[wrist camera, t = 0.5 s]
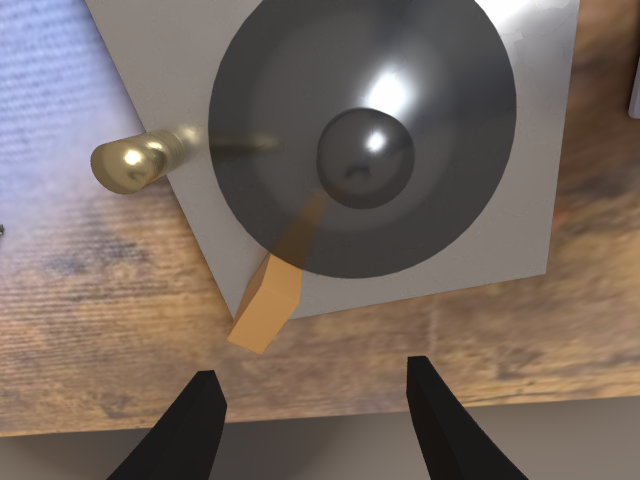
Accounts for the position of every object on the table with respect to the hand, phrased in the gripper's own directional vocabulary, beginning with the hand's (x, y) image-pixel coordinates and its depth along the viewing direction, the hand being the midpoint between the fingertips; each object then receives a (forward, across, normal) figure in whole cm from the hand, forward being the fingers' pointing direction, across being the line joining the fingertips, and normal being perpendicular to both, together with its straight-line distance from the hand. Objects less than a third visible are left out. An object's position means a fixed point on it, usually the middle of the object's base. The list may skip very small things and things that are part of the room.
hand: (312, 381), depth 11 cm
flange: (+8, -2, -5) cm, 10 cm away
